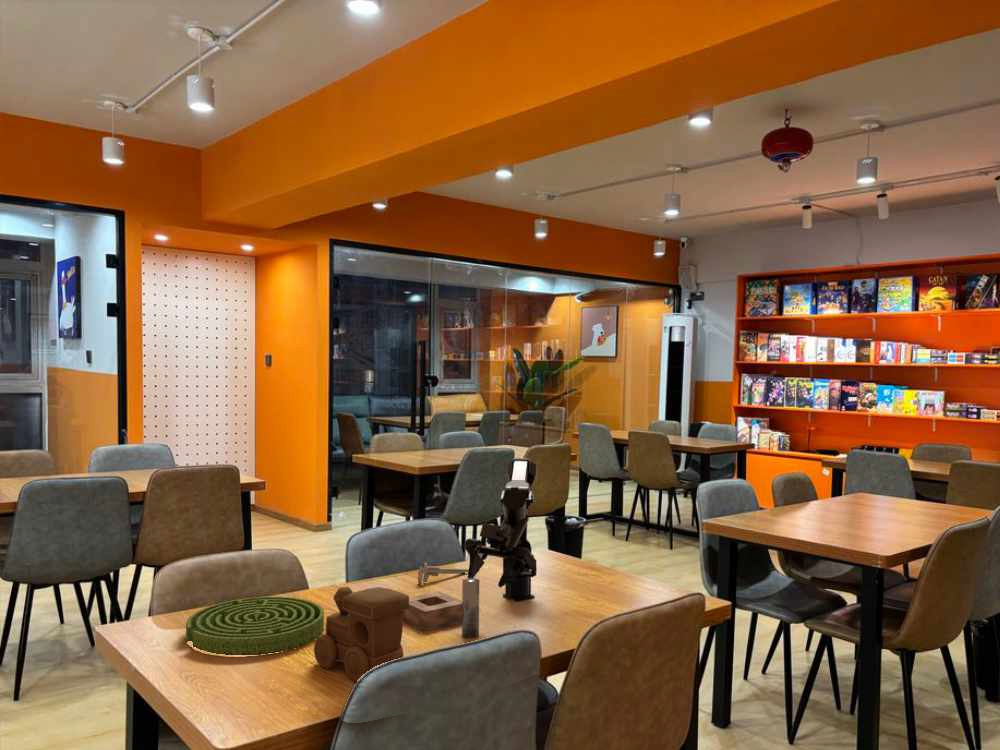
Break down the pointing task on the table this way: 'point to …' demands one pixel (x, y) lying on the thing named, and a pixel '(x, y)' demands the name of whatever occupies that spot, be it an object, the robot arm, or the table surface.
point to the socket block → (433, 611)
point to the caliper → (436, 572)
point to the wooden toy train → (363, 630)
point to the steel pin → (470, 608)
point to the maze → (255, 625)
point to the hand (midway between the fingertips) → (483, 583)
